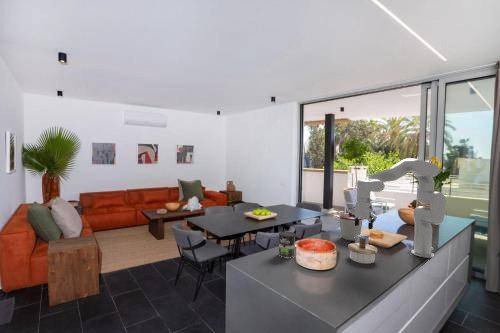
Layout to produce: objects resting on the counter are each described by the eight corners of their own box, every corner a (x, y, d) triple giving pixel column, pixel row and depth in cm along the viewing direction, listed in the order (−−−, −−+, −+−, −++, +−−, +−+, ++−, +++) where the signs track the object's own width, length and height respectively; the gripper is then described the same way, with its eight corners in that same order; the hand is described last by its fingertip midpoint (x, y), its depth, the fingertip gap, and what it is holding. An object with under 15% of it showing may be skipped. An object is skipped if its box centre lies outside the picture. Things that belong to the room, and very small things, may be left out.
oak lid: (359, 243, 174) (359, 232, 174) (383, 251, 160) (383, 239, 159) (342, 247, 166) (342, 236, 166) (365, 256, 151) (365, 244, 151)
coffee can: (291, 259, 161) (292, 237, 160) (276, 256, 166) (276, 234, 165) (296, 254, 170) (297, 232, 169) (282, 251, 175) (282, 230, 174)
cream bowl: (359, 253, 172) (360, 244, 172) (379, 260, 160) (379, 251, 160) (345, 257, 166) (345, 247, 165) (364, 265, 153) (364, 255, 153)
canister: (333, 237, 207) (333, 210, 206) (349, 234, 215) (349, 209, 215) (351, 244, 191) (352, 215, 190) (368, 240, 199) (368, 213, 199)
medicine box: (358, 249, 181) (359, 236, 180) (354, 246, 185) (355, 234, 185) (368, 248, 183) (368, 235, 183) (364, 246, 187) (364, 234, 187)
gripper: (380, 201, 156) (380, 229, 157) (355, 197, 171) (355, 223, 172) (372, 202, 152) (372, 231, 153) (347, 198, 167) (348, 225, 168)
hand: (363, 227), depth 162 cm, fingers open, 9 cm apart
